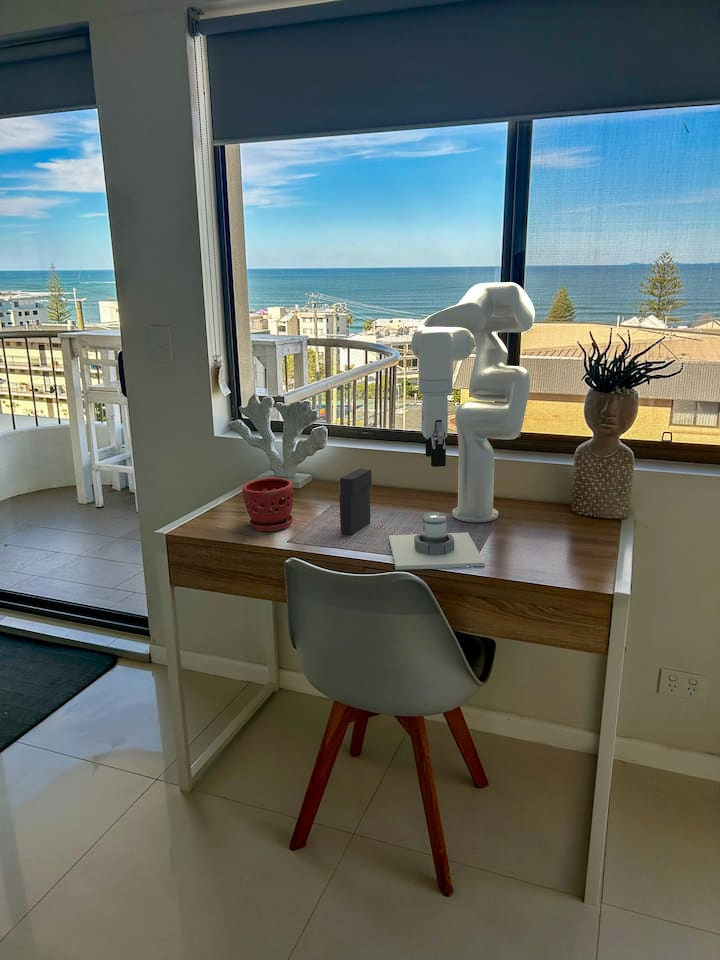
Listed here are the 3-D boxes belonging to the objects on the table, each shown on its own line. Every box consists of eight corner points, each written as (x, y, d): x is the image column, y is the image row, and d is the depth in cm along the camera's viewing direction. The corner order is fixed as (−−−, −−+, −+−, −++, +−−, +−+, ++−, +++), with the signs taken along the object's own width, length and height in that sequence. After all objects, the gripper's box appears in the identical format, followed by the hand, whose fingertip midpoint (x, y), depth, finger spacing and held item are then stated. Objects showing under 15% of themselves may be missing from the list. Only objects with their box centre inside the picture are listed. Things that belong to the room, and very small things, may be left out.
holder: (388, 539, 172) (388, 525, 171) (467, 536, 172) (468, 523, 172) (395, 569, 153) (395, 555, 152) (484, 566, 153) (485, 552, 152)
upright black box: (358, 521, 186) (357, 467, 182) (372, 523, 184) (371, 469, 180) (338, 533, 177) (337, 477, 173) (353, 536, 175) (351, 479, 171)
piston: (420, 544, 165) (421, 512, 163) (443, 543, 165) (444, 511, 163) (424, 552, 160) (424, 519, 158) (448, 551, 160) (448, 518, 158)
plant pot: (264, 516, 192) (262, 475, 189) (304, 522, 186) (302, 480, 183) (235, 530, 181) (232, 487, 178) (276, 537, 175) (273, 492, 172)
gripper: (414, 382, 161) (414, 453, 165) (423, 392, 144) (423, 471, 148) (446, 381, 161) (445, 451, 165) (459, 391, 144) (458, 470, 149)
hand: (435, 461), depth 157 cm, fingers open, 9 cm apart
